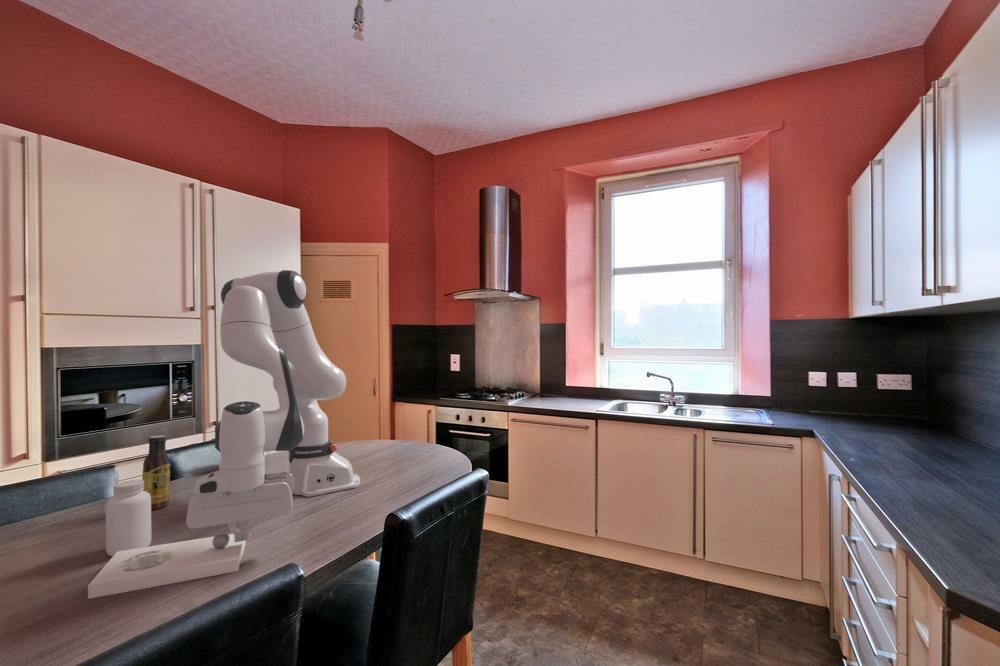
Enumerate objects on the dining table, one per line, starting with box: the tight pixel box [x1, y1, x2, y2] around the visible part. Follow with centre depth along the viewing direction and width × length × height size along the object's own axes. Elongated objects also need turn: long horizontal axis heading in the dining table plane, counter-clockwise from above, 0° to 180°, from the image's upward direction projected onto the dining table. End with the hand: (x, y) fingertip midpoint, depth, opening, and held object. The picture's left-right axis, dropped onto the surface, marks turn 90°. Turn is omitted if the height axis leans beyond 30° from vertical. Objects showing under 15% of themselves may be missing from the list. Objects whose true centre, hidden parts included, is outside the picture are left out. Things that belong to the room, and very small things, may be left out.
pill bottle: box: [105, 479, 152, 557], centre depth 102 cm, size 8×8×15 cm
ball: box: [212, 532, 230, 549], centre depth 97 cm, size 3×3×3 cm
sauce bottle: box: [141, 434, 171, 511], centre depth 127 cm, size 7×6×20 cm
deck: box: [87, 533, 247, 600], centre depth 94 cm, size 24×14×2 cm, turn 114°
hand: (242, 540), depth 98 cm, fingers closed
